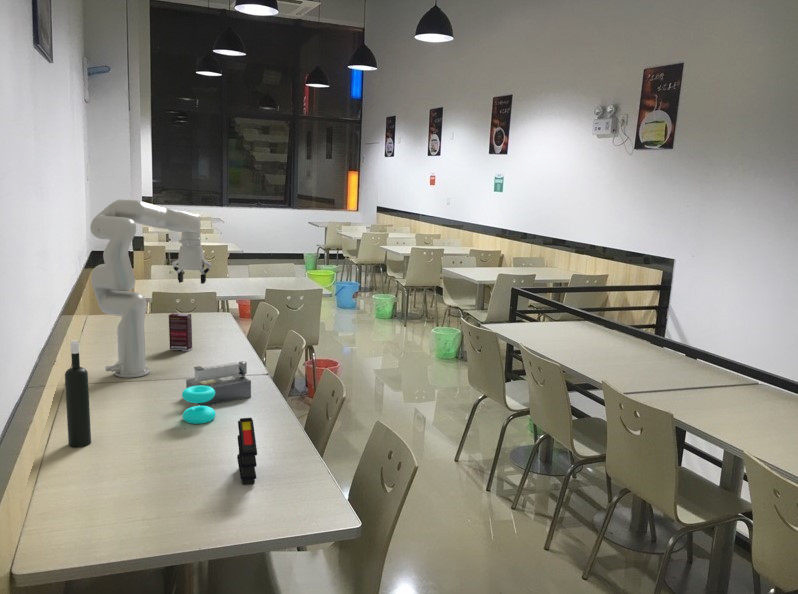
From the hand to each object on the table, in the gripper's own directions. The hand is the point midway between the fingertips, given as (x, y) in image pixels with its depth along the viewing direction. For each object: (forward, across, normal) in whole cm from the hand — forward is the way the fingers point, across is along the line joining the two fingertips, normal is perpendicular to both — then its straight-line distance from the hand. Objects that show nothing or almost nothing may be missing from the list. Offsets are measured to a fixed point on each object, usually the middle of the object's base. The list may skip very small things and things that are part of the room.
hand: (191, 282), depth 286 cm
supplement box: (+30, -5, 0) cm, 31 cm away
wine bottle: (+31, +8, -103) cm, 108 cm away
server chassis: (+30, +33, -56) cm, 72 cm away
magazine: (+31, +61, -117) cm, 135 cm away
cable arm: (+23, +33, -56) cm, 69 cm away
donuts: (+31, +34, -79) cm, 91 cm away
